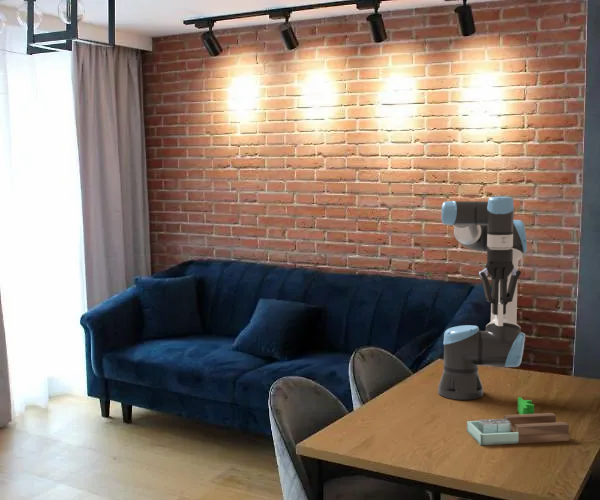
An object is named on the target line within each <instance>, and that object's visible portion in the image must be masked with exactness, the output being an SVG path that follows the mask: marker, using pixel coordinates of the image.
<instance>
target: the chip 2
mask: <svg viewBox="0 0 600 500" xmlns="http://www.w3.org/2000/svg"><path fill="white" fill-rule="evenodd" d="M492 419H493V420H494V421H495V422H496V423H497V433H510V432H511V422H509V421H508V420H507V419H504V418H492Z"/></svg>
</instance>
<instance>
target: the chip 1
mask: <svg viewBox="0 0 600 500" xmlns="http://www.w3.org/2000/svg"><path fill="white" fill-rule="evenodd" d="M493 419H494V418H487V419H486V418H485V419H484V418H483V419H478V421H479V431H480V432H481V433H482V434H490V433H497V423H496V422H495V421H494V420H493Z"/></svg>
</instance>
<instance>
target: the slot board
mask: <svg viewBox="0 0 600 500" xmlns="http://www.w3.org/2000/svg"><path fill="white" fill-rule="evenodd" d="M503 419H507V420H508V421H509V422H511V432H518V433H519V439H518V443H517V444H531V443H532V444H534V443H552V442H569V441H570V432H569V427H570V425H569V424H568V423H567V422H565V421H558V422H557V415H556V414H554V413H553V412H544V413H534V414H519V413H518V414H504V415H503Z"/></svg>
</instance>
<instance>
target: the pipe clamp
mask: <svg viewBox="0 0 600 500" xmlns="http://www.w3.org/2000/svg"><path fill="white" fill-rule="evenodd" d="M532 402H533V401H532V399H523V398H522V396H517V412H518V414H535V404H533V403H532Z"/></svg>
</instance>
